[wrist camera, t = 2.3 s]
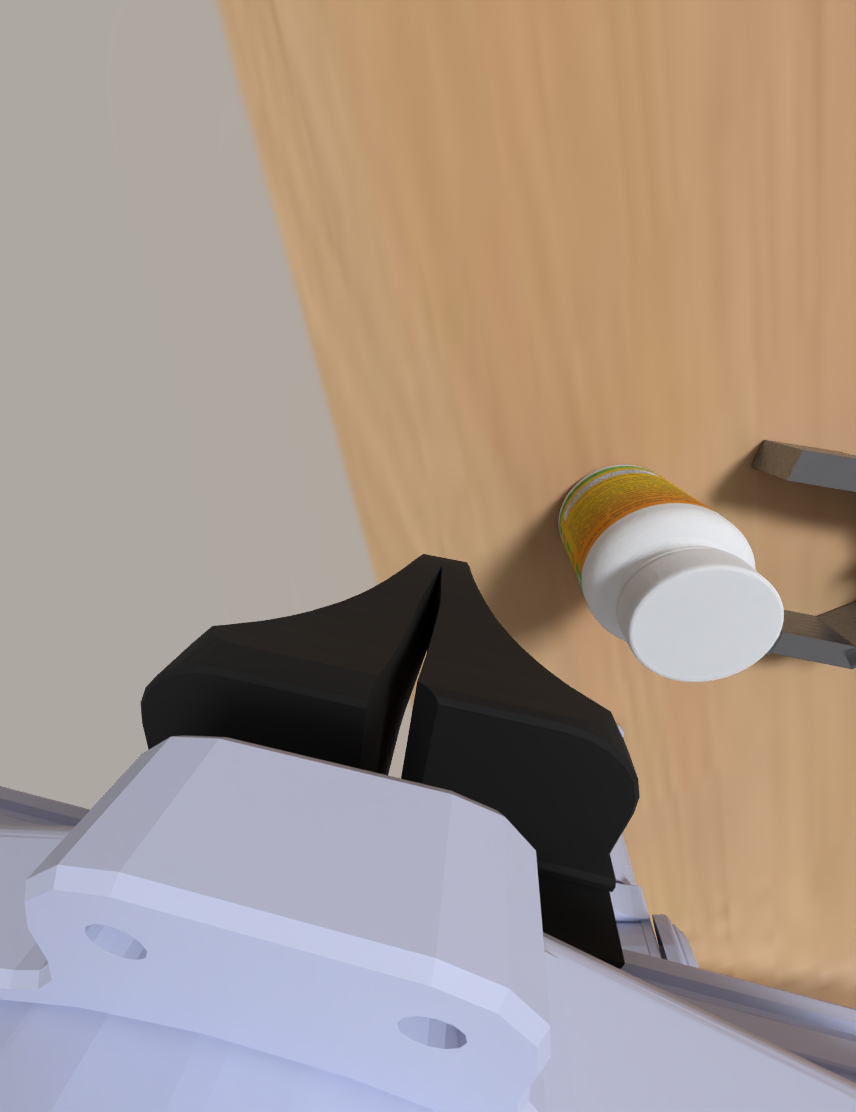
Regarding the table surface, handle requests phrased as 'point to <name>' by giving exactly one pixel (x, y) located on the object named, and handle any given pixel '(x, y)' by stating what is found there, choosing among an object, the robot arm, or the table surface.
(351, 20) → the table surface
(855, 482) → the socket
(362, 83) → the table surface
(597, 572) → the supplement bottle
